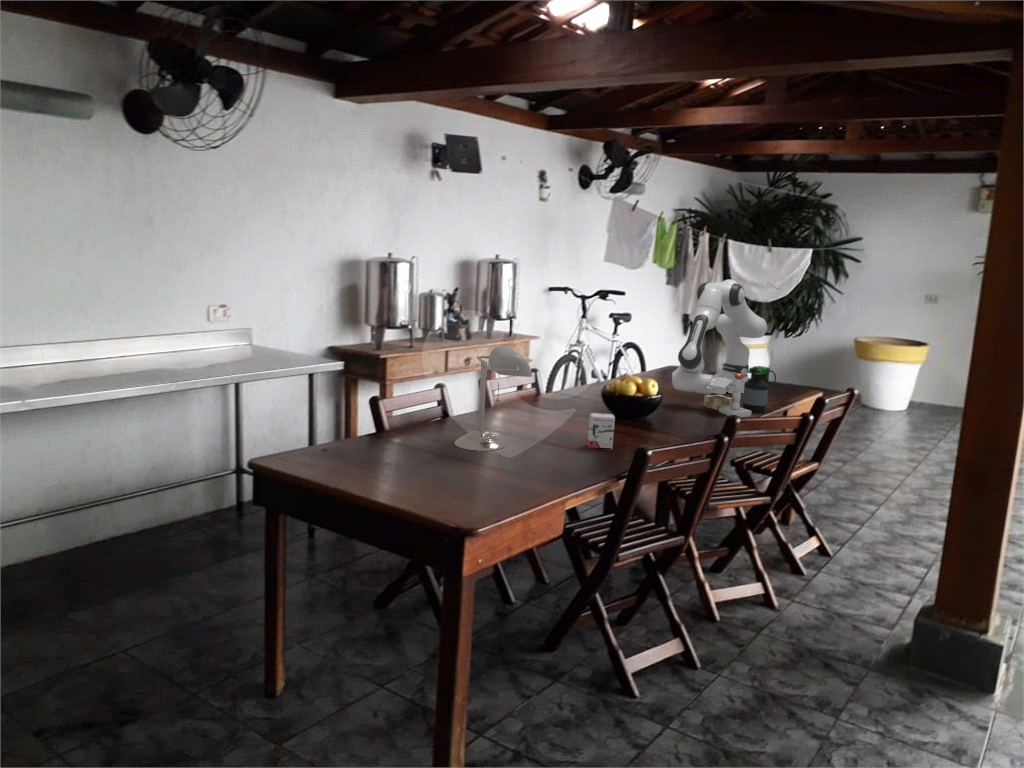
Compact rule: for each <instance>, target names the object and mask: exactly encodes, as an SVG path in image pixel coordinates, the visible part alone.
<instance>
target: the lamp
mask: <svg viewBox="0 0 1024 768" xmlns="http://www.w3.org/2000/svg"><path fill="white" fill-rule="evenodd" d="M476 359H477V361H479V362H480V364H481V365H480V382H479V383H480V384H479V401H478V402H479V403H478V404H479V407H478V421H477V423H478V425H477V430H472V431H467V433H466V434H464V435H463V436H460V437H459V438H457V439H456V440H454V445H455V446H456V447H458V448H460V449H463V450H467V449H468V451H474V450H476V452H477V451H478V452H492V451H491V450H493V451H498V450H497V449H499V450H502V449H504V448H505V447H506V446H505V444H506V443H505V442H504V440H502V439H500V438H499V437H497V436H496V435H495V434H494V433H493V432H490V431H486V430H485V429H484V427H485V407H486V406H485V404H486V390H487V389H486V388H487V387H486V386H487V370H489V371H490V372H494V373H496V374H497V375H498V377H500V375H501V376H507V377H509V376H510V377H521V378H523V377H525V378H526V377H527V378H530V377H531V378H532V377H533V372H532V369H531V366H530V364H529V362H528V360H527V359H526V358H525V357H524V356H523V355H521V353H519V352H518V351H516V350H515V349H514V348H513V347H510V346H507V345H497V346H495V347H494V348H493V349H491V351H490V353H489V355H477V356H476ZM485 359H488V362H487V360H485ZM497 387H498V388H497V399H496V400H495V401H496V402H497V403H499V402H500V399H499V393H500V384H498V385H497ZM484 430H485V431H484ZM503 447H504V448H503ZM501 448H502V449H501Z"/></svg>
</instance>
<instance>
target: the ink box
mask: <svg viewBox="0 0 1024 768" xmlns="http://www.w3.org/2000/svg"><path fill="white" fill-rule="evenodd" d="M588 422H589V423H588V433H587V443H586V444H587V447H588V448H589V449H595V448H611V449H610V450H613V445H614V433H615V422H616V417H615V415H614V414H612V413H610V414H609V413H597V412H591V413H589V421H588Z"/></svg>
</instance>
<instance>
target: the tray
mask: <svg viewBox="0 0 1024 768" xmlns="http://www.w3.org/2000/svg"><path fill="white" fill-rule="evenodd" d="M719 412H721V413H723V414H722V415H724V414H726V415H725V416H728V417H730V415H737V416H740V417H739V418H748V417H749V418H750V417H752V412H751V411H750V410H747V409H744V408H743V407H741V406H740V409H739V411H736V412H734V411H731V407H720V408H719V411H718V413H719ZM721 413H720V414H721Z"/></svg>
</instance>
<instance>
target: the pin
mask: <svg viewBox="0 0 1024 768" xmlns="http://www.w3.org/2000/svg"><path fill="white" fill-rule="evenodd" d="M734 376H735V377H734V386H733V387H739V391H738V392H736V391H733V393H732V396H731V398H732V404H731V411H734V412H736V411H739V409H740V407H741V401H742V400H741V399H742V394H741V392H742V383H743V377H744V376H745V374H741V373H734Z"/></svg>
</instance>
